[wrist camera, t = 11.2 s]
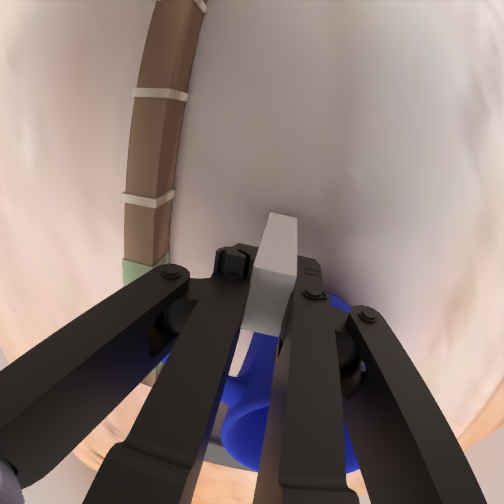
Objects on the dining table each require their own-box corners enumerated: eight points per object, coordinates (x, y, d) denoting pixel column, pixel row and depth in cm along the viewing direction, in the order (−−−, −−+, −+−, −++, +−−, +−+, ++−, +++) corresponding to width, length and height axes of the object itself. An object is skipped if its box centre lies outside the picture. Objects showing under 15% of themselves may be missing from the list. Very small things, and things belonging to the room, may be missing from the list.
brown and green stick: (145, 362, 24) (133, 382, 22) (179, -14, 12) (162, -30, 10) (167, 369, 24) (157, 390, 22) (213, -15, 12) (200, -33, 9)
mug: (251, 212, 18) (198, 297, 9) (389, 317, 19) (429, 431, 10) (187, 301, 21) (122, 403, 12) (314, 381, 22) (311, 489, 13)
